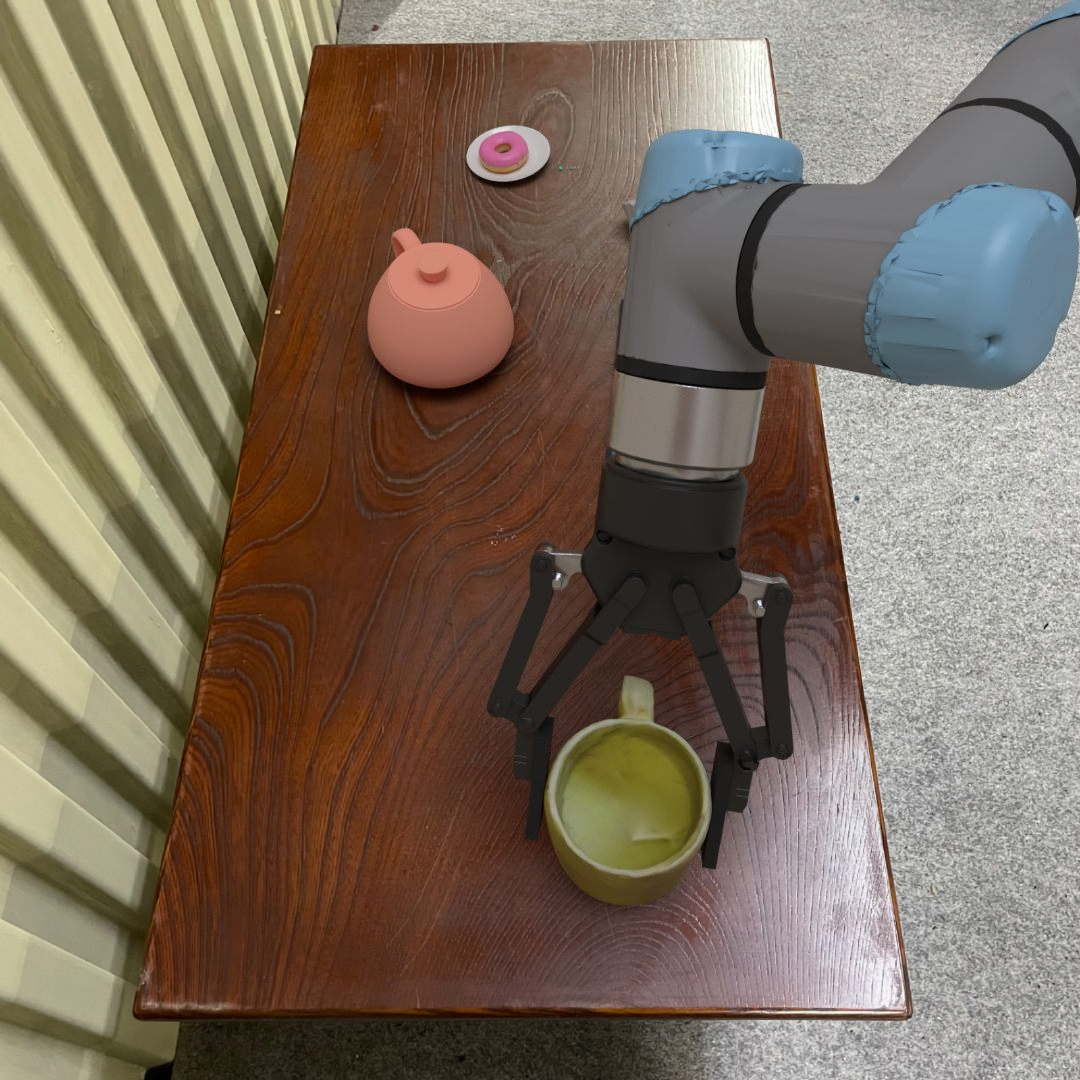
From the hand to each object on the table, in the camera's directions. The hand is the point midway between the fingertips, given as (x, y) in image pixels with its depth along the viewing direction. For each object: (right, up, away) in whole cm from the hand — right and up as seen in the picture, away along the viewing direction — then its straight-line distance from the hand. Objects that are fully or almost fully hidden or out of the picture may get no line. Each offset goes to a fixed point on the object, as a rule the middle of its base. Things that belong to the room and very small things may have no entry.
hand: (620, 840), depth 54 cm
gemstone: (+6, +46, +34) cm, 57 cm away
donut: (-6, +55, +39) cm, 67 cm away
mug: (+1, +1, +5) cm, 5 cm away
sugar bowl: (-13, +35, +28) cm, 46 cm away
